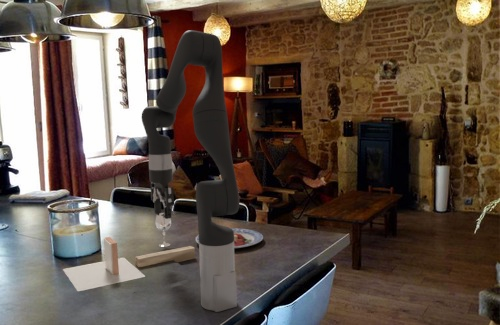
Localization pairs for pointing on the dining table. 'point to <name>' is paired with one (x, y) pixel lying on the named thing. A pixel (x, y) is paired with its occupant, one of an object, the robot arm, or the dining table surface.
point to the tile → (111, 255)
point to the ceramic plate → (243, 237)
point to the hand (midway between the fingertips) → (162, 215)
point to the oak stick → (166, 256)
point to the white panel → (101, 274)
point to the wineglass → (163, 227)
